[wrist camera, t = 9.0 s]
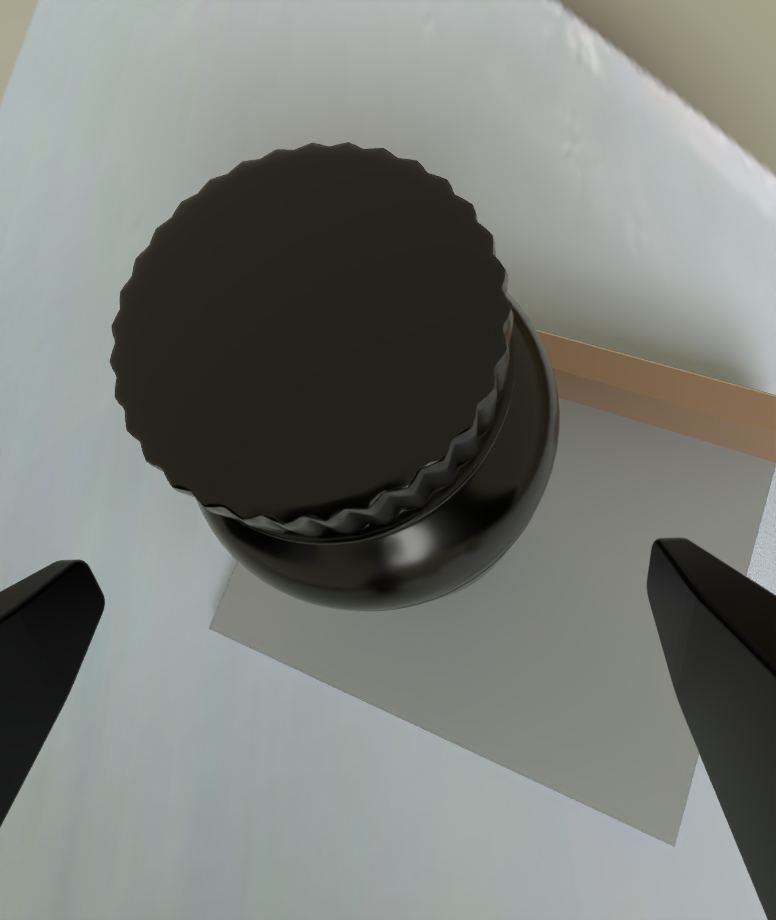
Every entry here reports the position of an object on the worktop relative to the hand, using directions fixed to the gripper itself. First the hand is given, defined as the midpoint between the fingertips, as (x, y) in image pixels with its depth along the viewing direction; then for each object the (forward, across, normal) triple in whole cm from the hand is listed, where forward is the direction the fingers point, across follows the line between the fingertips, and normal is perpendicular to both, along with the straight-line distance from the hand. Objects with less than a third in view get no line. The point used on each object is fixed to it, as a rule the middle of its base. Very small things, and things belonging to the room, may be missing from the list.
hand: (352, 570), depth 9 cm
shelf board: (+8, -2, +5) cm, 10 cm away
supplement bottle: (+8, 0, +4) cm, 9 cm away
